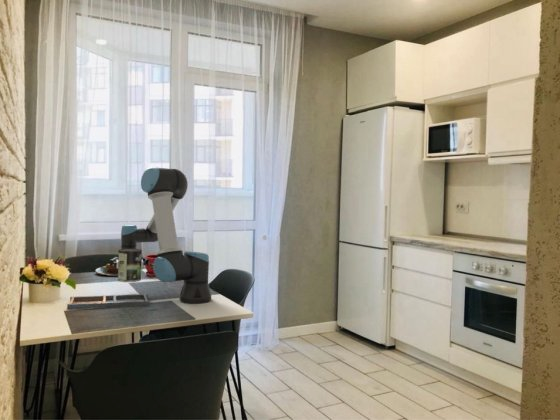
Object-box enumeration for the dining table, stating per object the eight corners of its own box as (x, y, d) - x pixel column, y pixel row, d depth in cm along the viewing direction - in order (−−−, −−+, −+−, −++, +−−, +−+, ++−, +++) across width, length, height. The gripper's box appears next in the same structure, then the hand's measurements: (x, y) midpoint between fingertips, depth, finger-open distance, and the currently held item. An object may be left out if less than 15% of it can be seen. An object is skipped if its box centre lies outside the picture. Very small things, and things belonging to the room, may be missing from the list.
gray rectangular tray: (147, 297, 228) (147, 293, 228) (149, 305, 214) (149, 301, 214) (70, 301, 217) (70, 296, 217) (67, 309, 203) (67, 304, 203)
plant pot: (139, 275, 285) (140, 256, 285) (155, 272, 297) (155, 253, 296) (156, 278, 279) (156, 258, 279) (171, 275, 291) (171, 255, 290)
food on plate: (138, 270, 306) (138, 260, 306) (139, 277, 282) (139, 266, 282) (96, 270, 298) (96, 260, 298) (93, 278, 275) (93, 266, 274)
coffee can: (143, 278, 223) (144, 248, 223) (136, 282, 213) (137, 251, 212) (122, 277, 223) (123, 248, 223) (114, 281, 213) (114, 250, 213)
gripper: (152, 265, 239) (155, 272, 218) (104, 265, 231) (103, 273, 210) (152, 250, 238) (156, 256, 217) (104, 250, 231) (103, 257, 210)
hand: (130, 265), depth 214 cm, fingers closed on coffee can, 10 cm apart
